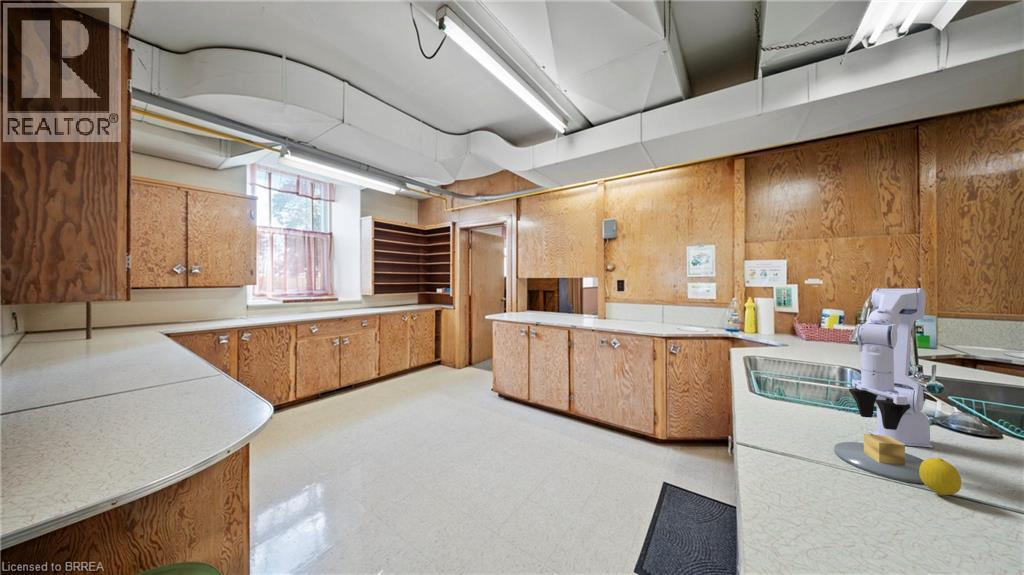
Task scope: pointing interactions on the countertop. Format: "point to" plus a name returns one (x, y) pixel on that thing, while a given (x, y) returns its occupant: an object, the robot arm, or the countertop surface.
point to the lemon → (940, 476)
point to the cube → (884, 449)
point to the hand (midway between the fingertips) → (877, 422)
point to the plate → (859, 459)
